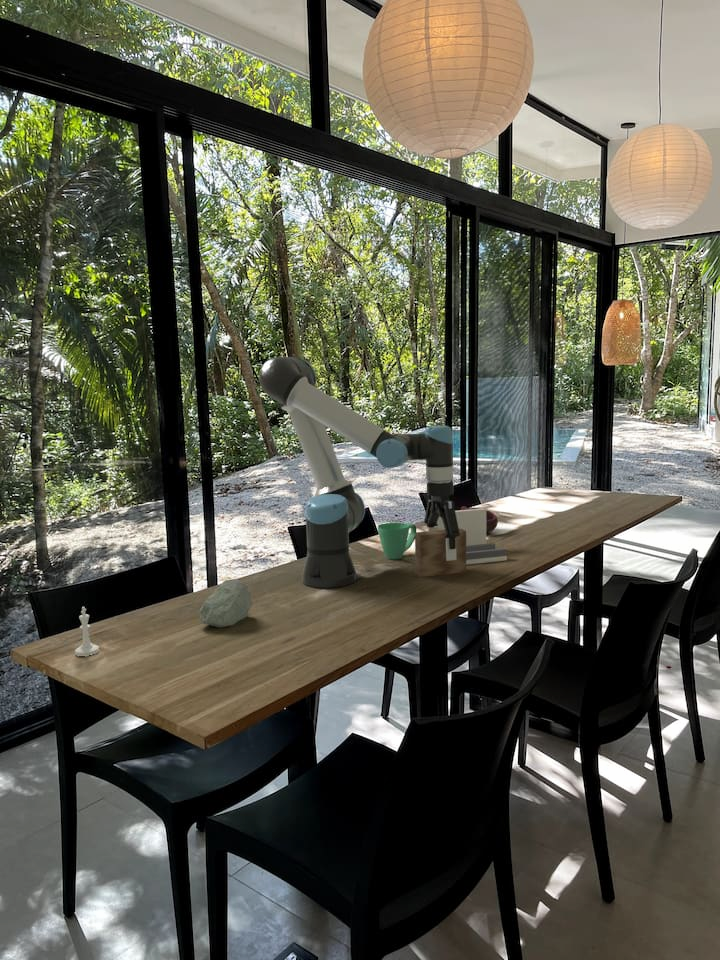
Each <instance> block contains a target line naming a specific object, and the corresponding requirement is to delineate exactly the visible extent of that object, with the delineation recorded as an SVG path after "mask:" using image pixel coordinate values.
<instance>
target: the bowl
mask: <svg viewBox="0 0 720 960" xmlns="http://www.w3.org/2000/svg"><path fill="white" fill-rule="evenodd" d="M471 509H479V508H477V507H474V508H468V507H467V506H461V508H460V510H471ZM498 520H499V519H498V517H497V514H495V512H493V511H490V510H488V509H486V534H487V533H491V532H492V531H494V530H495V529H496V528H497V526H498V524H499V521H498Z"/></svg>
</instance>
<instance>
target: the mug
mask: <svg viewBox="0 0 720 960" xmlns="http://www.w3.org/2000/svg"><path fill="white" fill-rule="evenodd" d="M377 531H378V537H379V540H380V545H381V548H382V551H383V553H384V555H385V557H386V559H388V560H399V559H402V558H403V555H404V553H405V552H407V551H408V549H410V548H411V547H412V545H413V543H414V542H415V532H417V527H416V525H415V523H412V522H411V523H402V522H385V523H381V524H378V525H377ZM409 533H410V534H409Z"/></svg>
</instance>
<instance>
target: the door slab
mask: <svg viewBox="0 0 720 960" xmlns="http://www.w3.org/2000/svg"><path fill="white" fill-rule="evenodd" d="M459 533H460V536H457V537H456V560H450V561H447V560H446V538H445V536H446V535H447V534H446V530H437V531H428V530H427V531H418V532H417V531H416V532H415V539H414V550H415V552H414V554H415V555H414V559H415V561H414V564H415V574H416V575H417V576H419V577H420V578H423V577H424V578H425V577H433V576H441V575H450V574H451V575H452V574H460V573H466V572H467V565H466V531H465V530H463V529H461V528H459Z"/></svg>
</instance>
